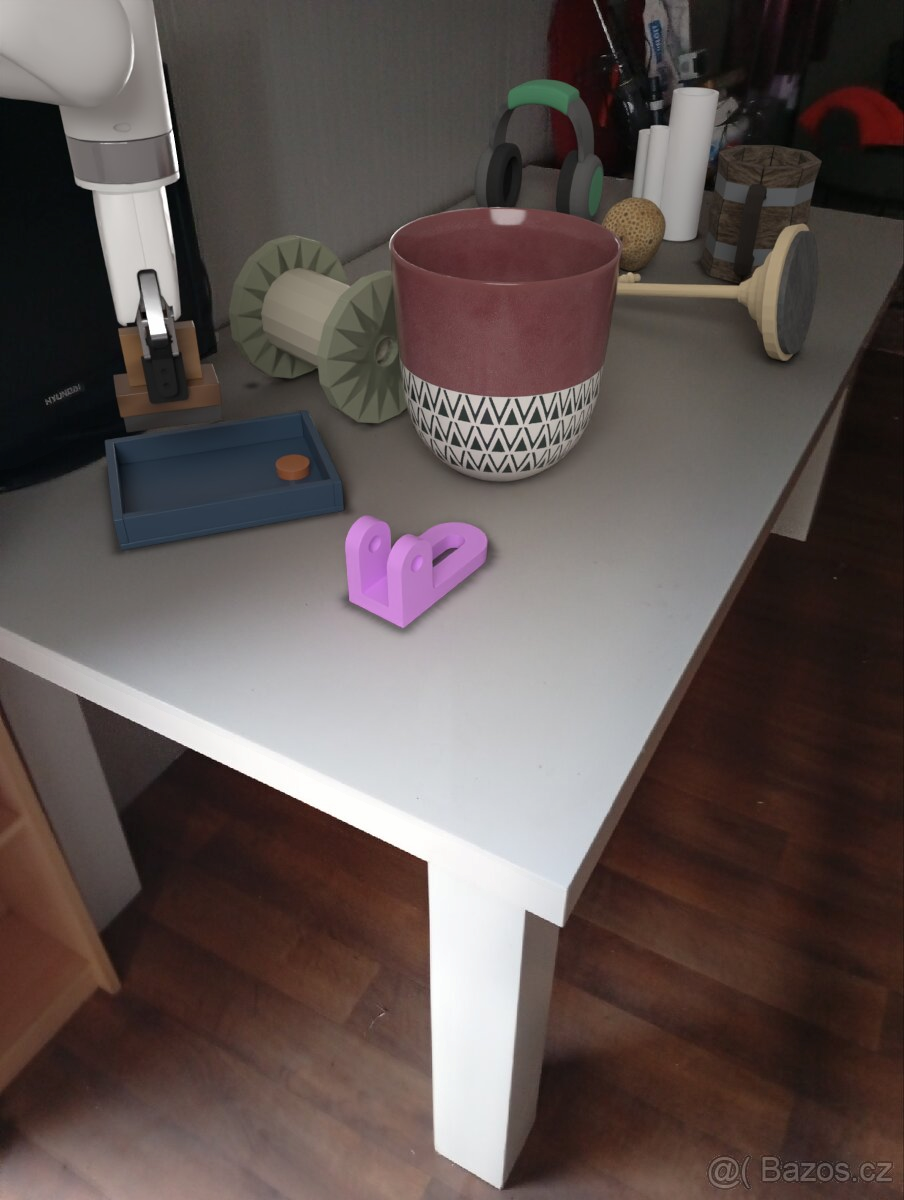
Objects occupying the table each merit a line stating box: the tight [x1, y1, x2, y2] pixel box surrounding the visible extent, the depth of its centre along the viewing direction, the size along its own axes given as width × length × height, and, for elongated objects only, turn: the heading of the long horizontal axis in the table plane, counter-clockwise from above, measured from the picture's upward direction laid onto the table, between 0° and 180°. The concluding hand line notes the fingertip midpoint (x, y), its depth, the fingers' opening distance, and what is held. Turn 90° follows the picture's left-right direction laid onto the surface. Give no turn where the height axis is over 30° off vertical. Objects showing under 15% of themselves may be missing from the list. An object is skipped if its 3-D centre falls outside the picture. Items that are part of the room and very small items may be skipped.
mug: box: [700, 144, 823, 285], centre depth 130 cm, size 20×14×15 cm
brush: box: [113, 320, 223, 434], centre depth 81 cm, size 8×4×8 cm, turn 109°
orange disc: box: [276, 455, 310, 480], centre depth 90 cm, size 3×3×1 cm
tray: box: [104, 409, 345, 551], centre depth 88 cm, size 20×15×3 cm
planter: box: [389, 207, 623, 482], centre depth 86 cm, size 20×20×21 cm
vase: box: [631, 86, 720, 242], centre depth 143 cm, size 11×7×20 cm, turn 61°
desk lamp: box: [616, 224, 819, 362], centre depth 113 cm, size 15×35×40 cm
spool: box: [228, 234, 408, 424], centre depth 100 cm, size 16×15×15 cm
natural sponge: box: [600, 197, 666, 272], centre depth 133 cm, size 9×9×10 cm
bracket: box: [344, 514, 488, 629], centre depth 76 cm, size 13×6×7 cm, turn 143°
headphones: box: [473, 78, 605, 222], centre depth 148 cm, size 19×11×20 cm, turn 66°
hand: (166, 385), depth 81 cm, fingers closed on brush, 4 cm apart
